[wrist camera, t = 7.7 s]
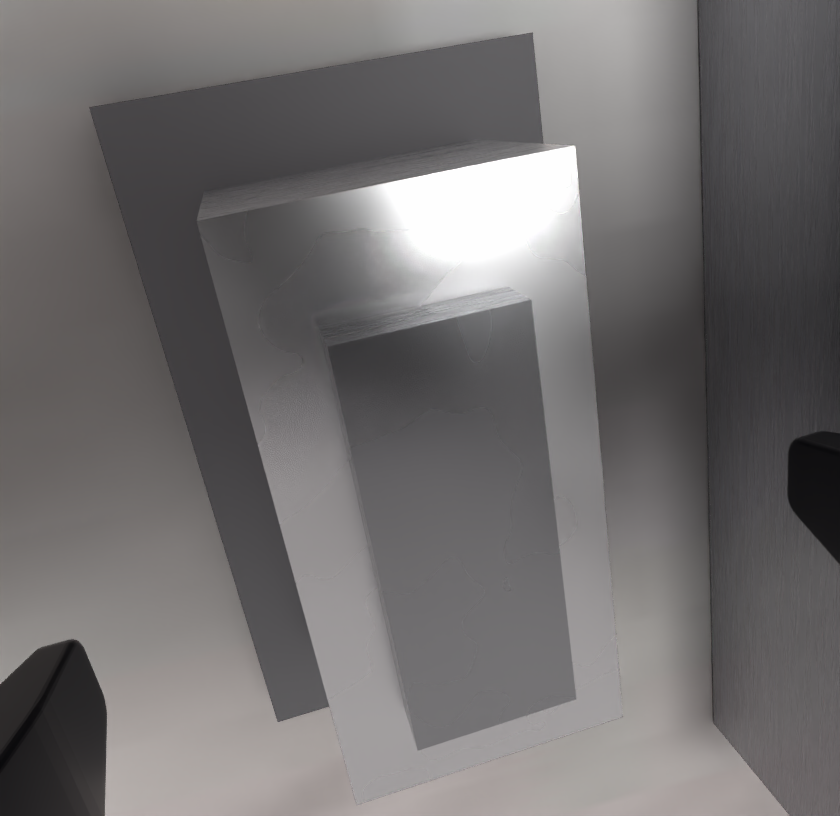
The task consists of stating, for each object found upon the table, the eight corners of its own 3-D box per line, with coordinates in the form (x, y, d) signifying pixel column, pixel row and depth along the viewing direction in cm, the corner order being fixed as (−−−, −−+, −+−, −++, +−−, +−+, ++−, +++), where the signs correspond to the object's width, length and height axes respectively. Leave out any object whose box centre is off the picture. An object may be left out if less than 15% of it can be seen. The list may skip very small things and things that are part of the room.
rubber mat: (574, 605, 18) (590, 626, 17) (275, 696, 17) (278, 721, 16) (515, 37, 13) (532, 32, 12) (97, 108, 12) (89, 107, 11)
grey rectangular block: (532, 583, 16) (647, 753, 12) (324, 645, 15) (365, 850, 11) (473, 139, 13) (605, 147, 8) (204, 191, 12) (194, 229, 8)
